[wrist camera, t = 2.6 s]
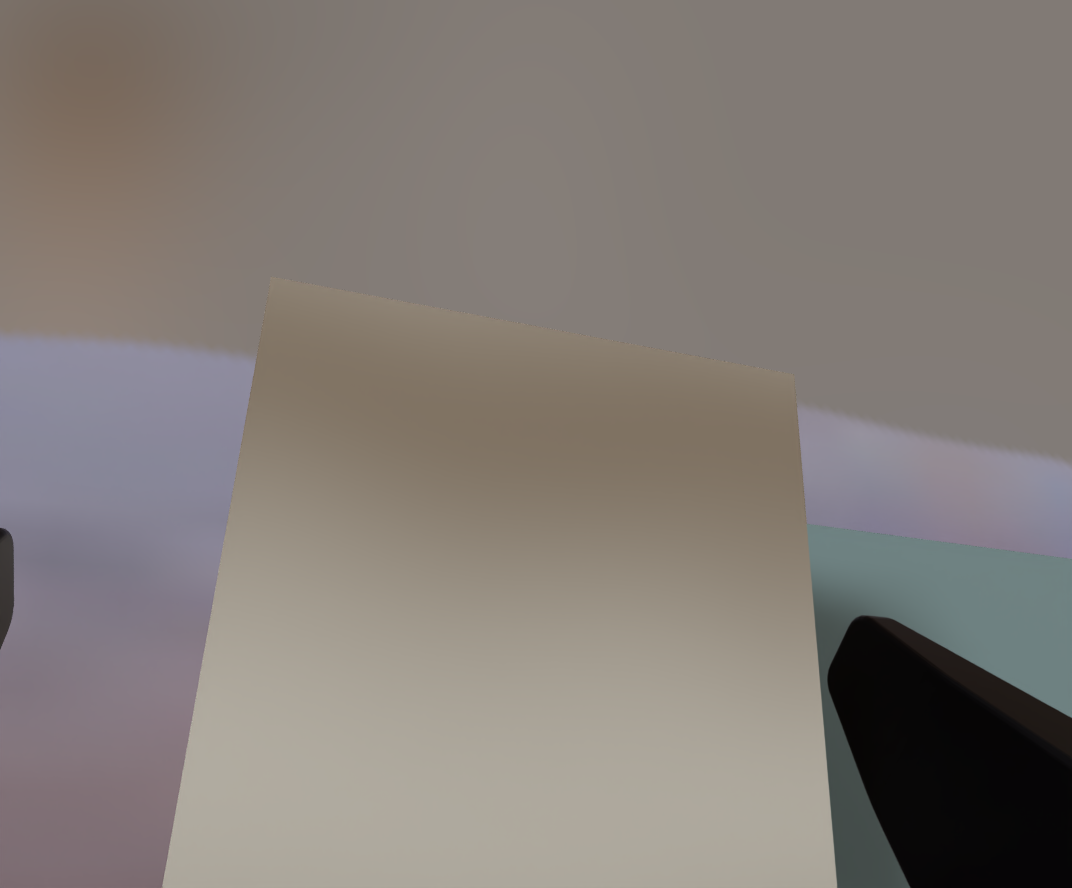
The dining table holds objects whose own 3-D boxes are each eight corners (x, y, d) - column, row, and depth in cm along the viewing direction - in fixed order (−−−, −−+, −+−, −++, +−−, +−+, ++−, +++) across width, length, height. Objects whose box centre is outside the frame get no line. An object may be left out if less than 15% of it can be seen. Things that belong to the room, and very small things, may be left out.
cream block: (504, 838, 15) (841, 956, 6) (220, 833, 14) (145, 976, 5) (516, 572, 17) (794, 374, 8) (265, 546, 16) (271, 277, 7)
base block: (1136, 1084, 17) (1362, 1170, 14) (708, 1120, 15) (850, 1237, 11) (1047, 607, 21) (1209, 577, 17) (691, 567, 18) (795, 522, 15)
